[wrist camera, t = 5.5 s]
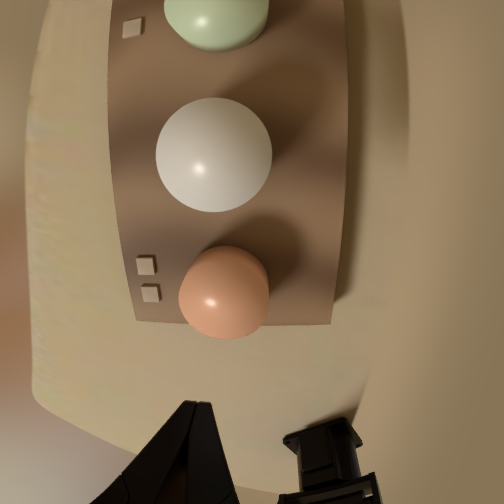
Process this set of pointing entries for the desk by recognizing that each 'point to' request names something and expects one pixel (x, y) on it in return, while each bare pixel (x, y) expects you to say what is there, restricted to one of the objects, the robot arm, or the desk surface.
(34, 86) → the desk surface
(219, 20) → the sage button
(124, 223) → the console
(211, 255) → the terracotta button
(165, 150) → the grey button
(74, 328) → the desk surface
